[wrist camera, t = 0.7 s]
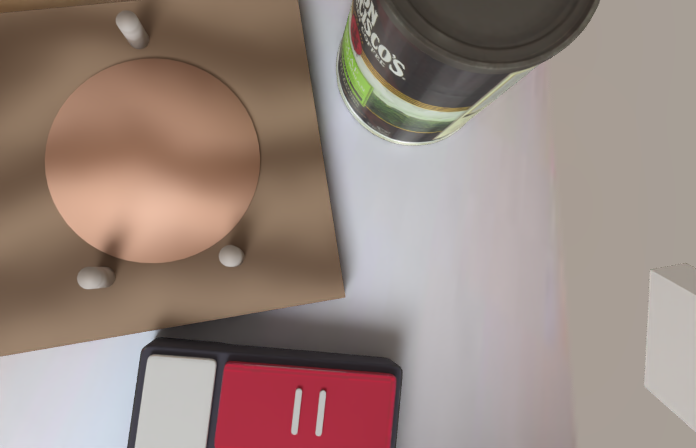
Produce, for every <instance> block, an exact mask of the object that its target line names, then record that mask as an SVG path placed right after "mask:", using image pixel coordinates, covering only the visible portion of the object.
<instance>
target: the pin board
mask: <svg viewBox="0 0 696 448" xmlns="http://www.w3.org/2000/svg"><path fill="white" fill-rule="evenodd" d="M339 298H345V291H344V285H343V278H342V272H341V266H340V260H339V254H338V247H337V241H336V235H335V229H334V222H333V216H332V210H331V204H330V197H329V191H328V185H327V179H326V172H325V166H324V160H323V154H322V147H321V141H320V135H319V129H318V122H317V116H316V110H315V104H314V98H313V91H312V85H311V79H310V73H309V66H308V60H307V54H306V48H305V41H304V35H303V29H302V23H301V16H300V10H299V4H298V0H135V1H124V2H113V3H103V4H92V5H81V6H71V7H60V8H49V9H39V10H28V11H17V12H6V13H0V356H6V355H12V354H18V353H23V352H29V351H35V350H41V349H47V348H53V347H58V346H64V345H70V344H76V343H82V342H88V341H93V340H99V339H105V338H111V337H117V336H123V335H129V334H134V333H140V332H146V331H152V330H158V329H164V328H169V327H175V326H181V325H187V324H193V323H199V322H204V321H210V320H216V319H222V318H228V317H234V316H240V315H245V314H251V313H257V312H263V311H269V310H275V309H280V308H286V307H292V306H298V305H304V304H310V303H315V302H321V301H327V300H333V299H339Z"/></svg>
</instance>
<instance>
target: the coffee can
mask: <svg viewBox="0 0 696 448" xmlns="http://www.w3.org/2000/svg"><path fill="white" fill-rule="evenodd" d="M599 1H600V0H353V1H352V5H351V9H350V13H349V16H348V20H347V24H346V27H345V31H344V34H343V38H342V41H341V43H340V46H339V50H338V54H337V61H336V75H337V83H338V87H339V91H340V94H341V96H342V98H343V101H344V102H345V104H346V106H347V108H348V110H349V111H350V112H351V114H352V115H353V116H354V117H355V119H356V120H357V121H358V122H359V123H360V124H361V125H362V126H364V127H365V128H366V129H367V130H368V131H370V132H371V133H372V134H374V135H376V136H378V137H380V138H382V139H384V140H387V141H389V142H393V143H397V144H402V145H426V144H432V143H435V142H438V141H441V140H443V139H445V138H447V137H449V136H451V135H452V134H454V133H455V132H456V131H458V130H459V129H460V128H461V127H463V126H464V125H465V123H466V122H467V121H469V120H470V119H471V118H472V117H473V116H475V115H476V114H477V113H479V112H480V111H481V110H482V109H484V108H485V107H486V106H487V105H489V104H490V103H491V102H493V101H494V100H495V99H496V98H498V97H499V96H500V95H501V94H503V93H504V92H505V91H507V90H508V89H509V88H510V87H512V86H513V85H514V84H515V83H517V82H518V81H519V80H520V79H522V78H523V77H524V76H525V75H527V74H528V73H529V72H530V71H532V70H533V69H534V68H535V67H537V66H538V65H539V64H540V63H542V62H544V61H546V60H548V59H550V58H552V57H553V56H555V55H556V54H557V53H559V52H560V51H562V50H563V49H564V48H566V47H567V46H568V45H569V44H570V43H572V41H574V40H575V38H577V36H578V35H579V34H580V33H581V32H582V31H583V30H584V29H585V27H586V26H587V24H588V23H589V22H590V19H591V18H592V16H593V14H594V12H595V11H596V9H597V7H598V4H599Z"/></svg>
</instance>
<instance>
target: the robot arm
mask: <svg viewBox="0 0 696 448" xmlns="http://www.w3.org/2000/svg"><path fill="white" fill-rule="evenodd" d="M644 387H645V388H646V389H648V390H649V391H650V392H651V393H652V394H653V395H654V396H655V397H656V398H658V399H659V400H660V401H661V402H662V403H663V404H664V405H665V406H667V407H668V408H669V409H670V410H671V411H672V412H673V413H674V414H676V415H677V416H678V417H679V418H680V419H681V420H682V421H684V422H685V423H686V424H687V425H688V426H689V427H690V428H691V429H693V430H694V431H695V432H696V268H695V267H693V266H691V265H689V264H687V263H683V264H678V265H672V266H667V267H661V268H656V269H651V270H650V281H649V300H648V320H647V340H646V358H645V377H644Z"/></svg>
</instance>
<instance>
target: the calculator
mask: <svg viewBox="0 0 696 448" xmlns="http://www.w3.org/2000/svg"><path fill="white" fill-rule="evenodd" d="M401 386H402V369H401V367H400V366H398V365H397V364H396V363H394V362H393V361H391V360H390V359H388V358H382V357H371V356H360V355H349V354H338V353H327V352H315V351H303V350H291V349H279V348H267V347H255V346H243V345H232V344H225V343H218V342H207V341H196V340H185V339H174V338H162V337H161V338H157V339H155V340H153V341H152V342H151V343H149V344H148V345H146V346H145V347H144V348H143V349H142V351H141V355H140V361H139V369H138V376H137V383H136V390H135V397H134V404H133V411H132V418H131V425H130V432H129V439H128V446H127V448H396V439H397V428H398V417H399V407H400V396H401Z"/></svg>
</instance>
